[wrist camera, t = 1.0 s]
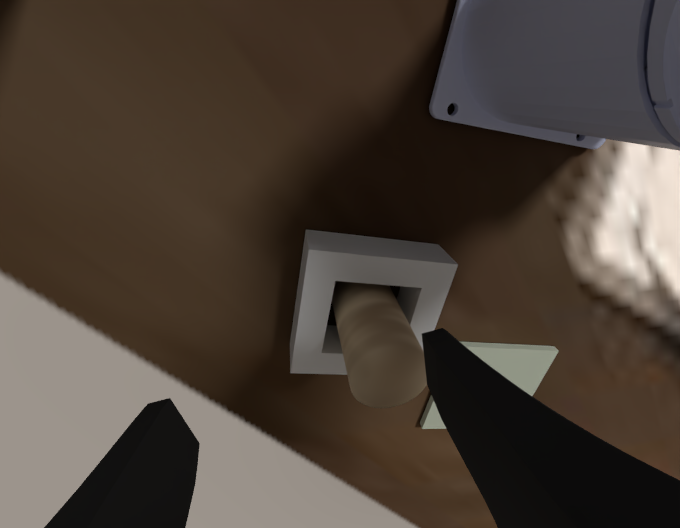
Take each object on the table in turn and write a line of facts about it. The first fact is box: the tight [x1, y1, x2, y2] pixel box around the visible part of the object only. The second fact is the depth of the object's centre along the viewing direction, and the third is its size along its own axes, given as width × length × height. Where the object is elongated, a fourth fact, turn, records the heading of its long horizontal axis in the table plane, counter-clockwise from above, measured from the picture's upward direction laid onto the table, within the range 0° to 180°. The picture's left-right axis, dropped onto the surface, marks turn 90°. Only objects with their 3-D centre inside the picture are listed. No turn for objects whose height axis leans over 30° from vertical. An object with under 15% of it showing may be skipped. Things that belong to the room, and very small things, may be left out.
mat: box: [420, 342, 558, 429], centre depth 25 cm, size 8×8×1 cm
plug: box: [332, 281, 427, 408], centre depth 17 cm, size 4×4×6 cm
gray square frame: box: [290, 229, 458, 375], centre depth 19 cm, size 8×8×2 cm
